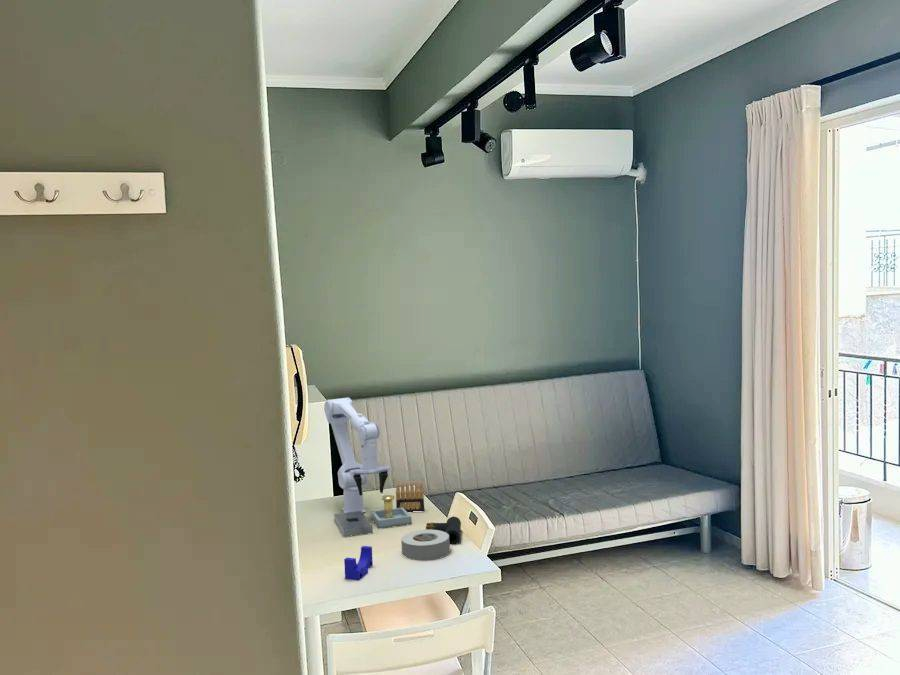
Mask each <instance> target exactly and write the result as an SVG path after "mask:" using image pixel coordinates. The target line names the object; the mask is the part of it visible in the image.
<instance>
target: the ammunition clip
mask: <svg viewBox="0 0 900 675" xmlns="http://www.w3.org/2000/svg"><path fill="white" fill-rule="evenodd" d="M423 486H424V484H423V481H422V480H420V481H419V483H418V481H417V480H415V482H413V480H411V481H410V485H409V482H408V480H406V482H405V484H404V481H403V480H401V484H400V483H399V481H398V480H397V481H396V487H395V503H396V506H395V507H396V508H404V509H405V510H406V511H407V512H412V513H414V512H413V511H425V510H426V508H425V500H424V499H425V496H424V495H425V494H424V493H425V492H424V487H423Z"/></svg>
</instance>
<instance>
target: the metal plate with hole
mask: <svg viewBox="0 0 900 675" xmlns="http://www.w3.org/2000/svg"><path fill="white" fill-rule="evenodd" d="M333 517H334V519H333V520H334V523H335V525H336V526H337V525H338V526H337V527H339V528H338V529H339V531H340V530H341V531H340V533H341V532H342V533H341V534H343V535H342V536H343V537H344V536H349V537H352V536H351V535H357V536H361V535H360V534H364V535H369V534H368V533H372V534H373V533H374V532H373V525H372V524H371V522H370V521H369V519H368V518H367V516H366V515H365V514H364V513H362V511H356V512H347V513H344V512H342V513H341V512H340V513H334V514H333Z"/></svg>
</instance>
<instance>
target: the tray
mask: <svg viewBox="0 0 900 675" xmlns="http://www.w3.org/2000/svg"><path fill="white" fill-rule="evenodd" d="M370 512H371V514H370V516H371V517H370V518H371V520H373V521H374V522H373V521H372V522H373V523H374V525H375V524H376V525H377V526H376V525H375V526H376V528H377V529H378V528H382V529H387V528H386V527H389V528H394V527H393V526H397V527H401V526H400V525H404V526H408V525H407V524H412V516H411V513H408V512H407V511H406V510H405V509H404V508H393V518H387V519H385V512H384V509H380V510H373V511H370Z"/></svg>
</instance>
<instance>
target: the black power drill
mask: <svg viewBox="0 0 900 675" xmlns="http://www.w3.org/2000/svg"><path fill="white" fill-rule="evenodd" d="M461 526H462V522H461V520H460V518H459V517H457V516H451V517H449V518H447V520H446V522H426V525H425V530H439V531H444V532H446V533H448V534H449V542H450V544H451V545H457V544H458V543H460V541H461V540H460V539H461V528H462V527H461Z"/></svg>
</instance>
